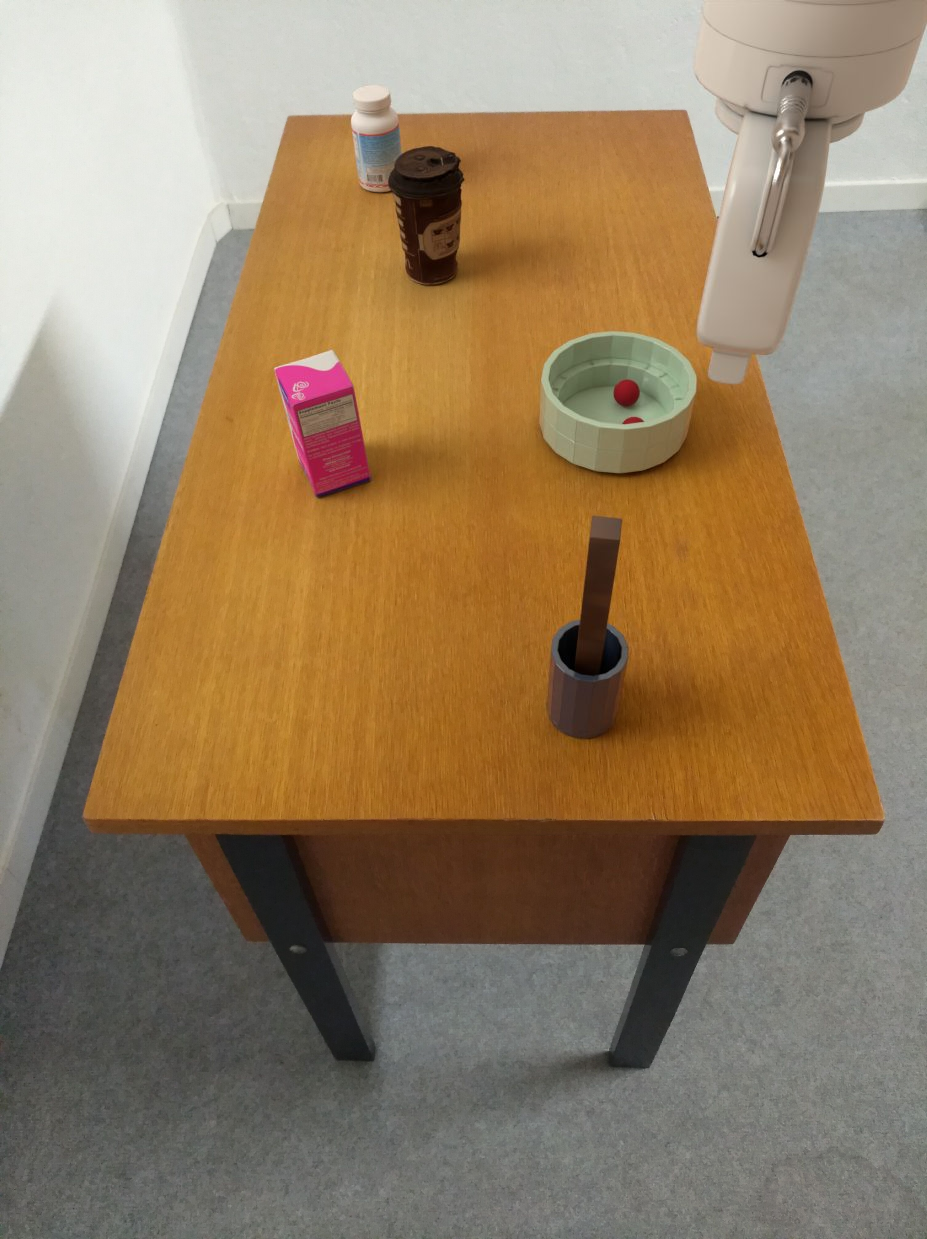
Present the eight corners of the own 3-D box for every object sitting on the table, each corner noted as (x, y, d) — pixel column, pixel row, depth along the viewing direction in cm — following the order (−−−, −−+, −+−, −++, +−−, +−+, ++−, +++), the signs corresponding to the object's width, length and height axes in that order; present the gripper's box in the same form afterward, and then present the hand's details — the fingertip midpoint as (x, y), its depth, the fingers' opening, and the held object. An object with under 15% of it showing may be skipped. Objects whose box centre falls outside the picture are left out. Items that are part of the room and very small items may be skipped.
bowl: (687, 386, 92) (697, 337, 87) (684, 484, 84) (695, 435, 79) (548, 375, 94) (551, 326, 89) (531, 470, 85) (533, 421, 81)
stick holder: (619, 683, 71) (630, 623, 64) (614, 743, 67) (625, 685, 61) (551, 675, 71) (555, 614, 65) (543, 733, 68) (547, 675, 62)
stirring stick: (594, 696, 69) (622, 518, 53) (592, 716, 68) (620, 540, 52) (571, 693, 70) (592, 515, 54) (569, 713, 68) (589, 537, 53)
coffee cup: (483, 264, 107) (480, 153, 97) (445, 299, 103) (438, 187, 93) (422, 245, 110) (414, 135, 100) (383, 278, 106) (370, 168, 96)
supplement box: (296, 462, 87) (272, 364, 78) (353, 444, 88) (336, 346, 79) (314, 500, 84) (291, 403, 75) (373, 481, 85) (357, 384, 76)
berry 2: (646, 433, 87) (649, 412, 85) (644, 451, 86) (648, 430, 84) (619, 430, 87) (622, 409, 85) (617, 448, 86) (620, 427, 84)
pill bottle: (413, 179, 120) (406, 89, 111) (383, 198, 117) (373, 108, 108) (379, 167, 122) (369, 78, 113) (349, 185, 119) (337, 95, 111)
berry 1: (638, 396, 90) (642, 375, 88) (637, 412, 89) (640, 391, 87) (613, 394, 91) (615, 373, 89) (611, 410, 89) (613, 389, 87)
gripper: (882, 156, 30) (780, 461, 41) (893, -51, 42) (811, 229, 53) (694, 136, 31) (644, 437, 42) (755, -60, 43) (703, 216, 54)
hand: (736, 320), depth 48 cm, fingers open, 8 cm apart
